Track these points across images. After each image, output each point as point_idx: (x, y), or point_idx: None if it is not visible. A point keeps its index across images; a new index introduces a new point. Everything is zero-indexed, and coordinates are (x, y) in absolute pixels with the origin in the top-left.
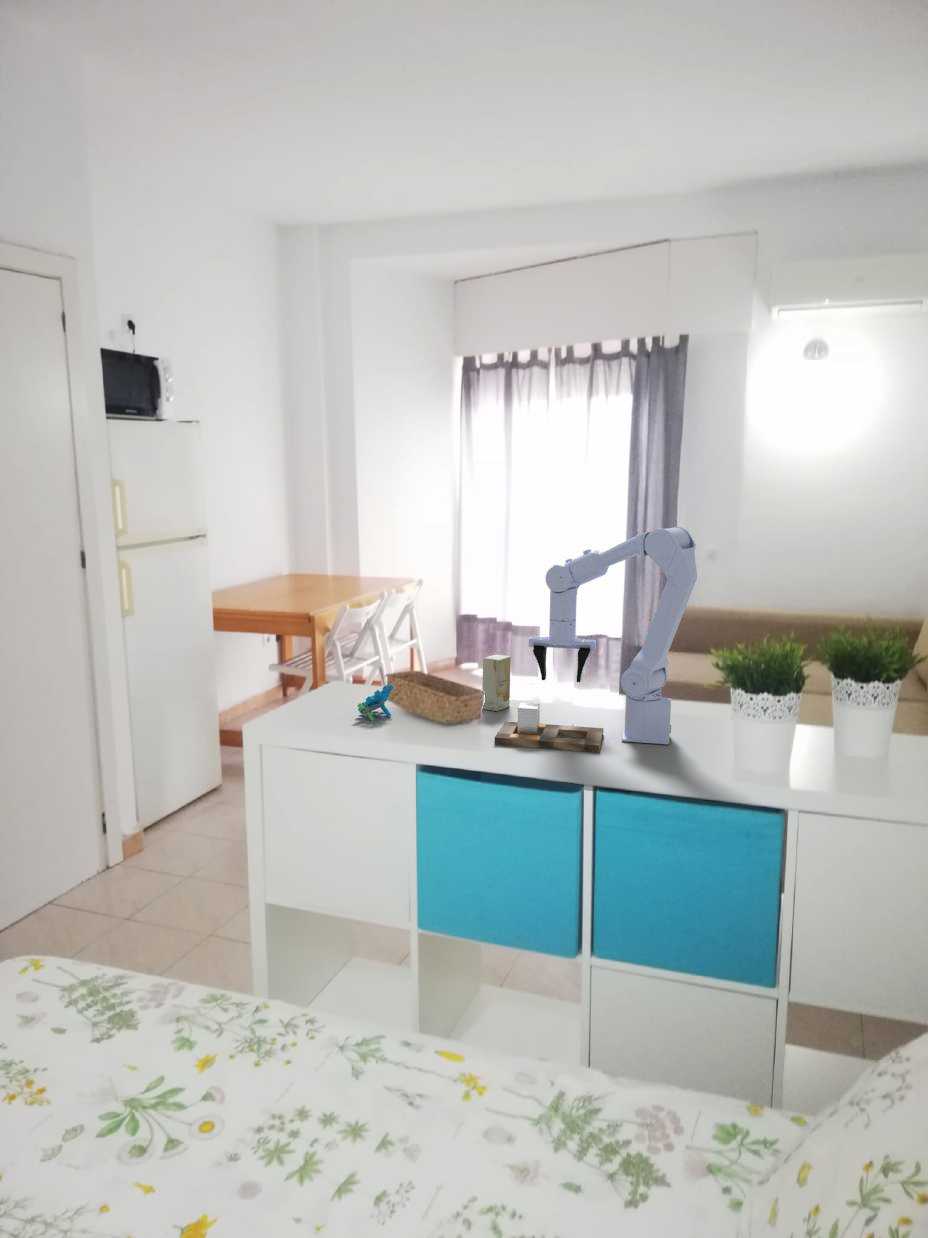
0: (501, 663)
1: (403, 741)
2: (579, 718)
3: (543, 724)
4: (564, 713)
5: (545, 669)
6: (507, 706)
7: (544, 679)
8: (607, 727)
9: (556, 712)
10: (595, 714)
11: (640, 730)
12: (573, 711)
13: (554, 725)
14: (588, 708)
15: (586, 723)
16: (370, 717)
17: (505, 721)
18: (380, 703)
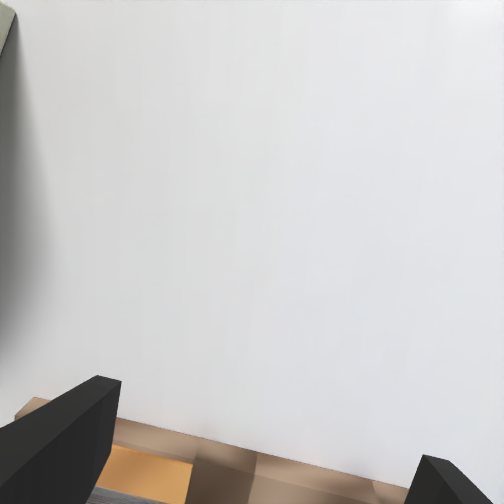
0: None
1: None
2: (379, 248)
3: (178, 477)
4: (315, 153)
5: (66, 464)
6: (5, 37)
7: (104, 461)
8: (482, 392)
9: (273, 134)
10: (487, 168)
11: None
12: (373, 108)
13: (227, 478)
14: (481, 30)
15: (396, 332)
16: None
17: (16, 416)
18: None
